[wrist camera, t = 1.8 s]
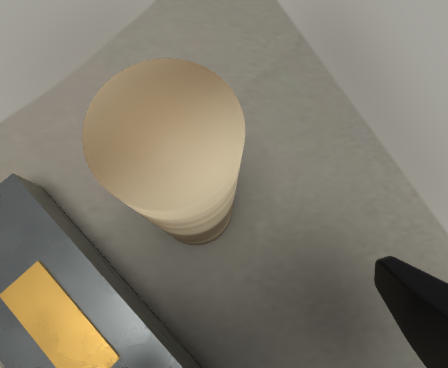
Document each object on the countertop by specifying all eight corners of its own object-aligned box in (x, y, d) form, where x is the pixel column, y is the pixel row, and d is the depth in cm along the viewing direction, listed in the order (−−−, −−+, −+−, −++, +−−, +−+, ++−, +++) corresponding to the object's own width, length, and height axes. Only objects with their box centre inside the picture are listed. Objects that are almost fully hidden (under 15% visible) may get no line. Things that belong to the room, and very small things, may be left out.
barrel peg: (246, 209, 21) (278, 130, 9) (195, 260, 21) (158, 246, 8) (197, 162, 22) (169, 31, 10) (146, 209, 21) (48, 128, 9)
